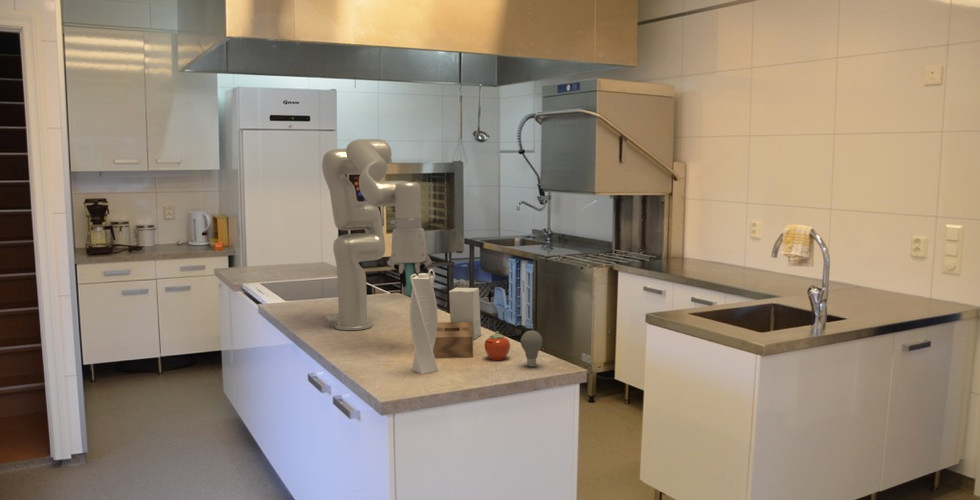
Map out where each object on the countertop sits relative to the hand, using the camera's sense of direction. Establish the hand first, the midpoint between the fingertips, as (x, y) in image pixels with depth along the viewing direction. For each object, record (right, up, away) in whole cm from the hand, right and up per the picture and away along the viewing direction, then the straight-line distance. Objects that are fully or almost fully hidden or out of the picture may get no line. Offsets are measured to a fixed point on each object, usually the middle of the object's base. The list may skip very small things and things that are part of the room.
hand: (410, 285), depth 234 cm
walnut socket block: (+12, -19, +3) cm, 23 cm away
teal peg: (0, -3, 0) cm, 3 cm away
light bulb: (+35, -22, -17) cm, 45 cm away
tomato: (+26, -21, -8) cm, 34 cm away
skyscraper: (+6, -22, -20) cm, 31 cm away
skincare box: (+16, -17, +18) cm, 30 cm away
